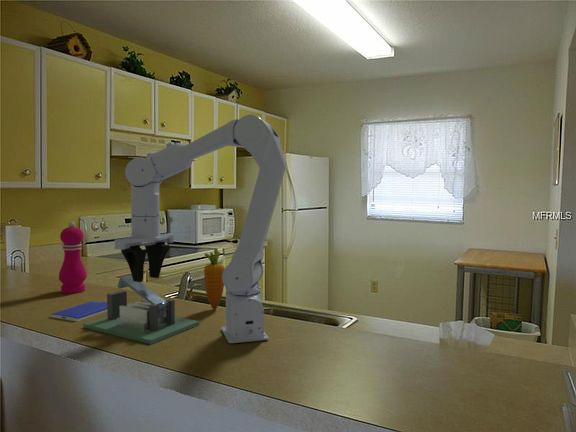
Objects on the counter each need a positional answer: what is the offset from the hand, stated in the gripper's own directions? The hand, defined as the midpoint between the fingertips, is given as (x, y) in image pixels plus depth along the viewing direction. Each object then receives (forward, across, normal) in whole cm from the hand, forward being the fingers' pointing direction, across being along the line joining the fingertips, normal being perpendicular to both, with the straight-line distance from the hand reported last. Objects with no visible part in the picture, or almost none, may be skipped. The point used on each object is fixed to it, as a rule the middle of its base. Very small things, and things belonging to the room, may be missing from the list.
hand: (146, 279), depth 95 cm
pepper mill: (+11, -13, -43) cm, 46 cm away
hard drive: (+11, -1, -21) cm, 24 cm away
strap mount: (+10, 0, -2) cm, 10 cm away
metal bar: (+5, 0, -1) cm, 5 cm away
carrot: (+11, -18, +4) cm, 22 cm away
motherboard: (+10, 0, -1) cm, 10 cm away
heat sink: (+10, 0, 0) cm, 10 cm away
